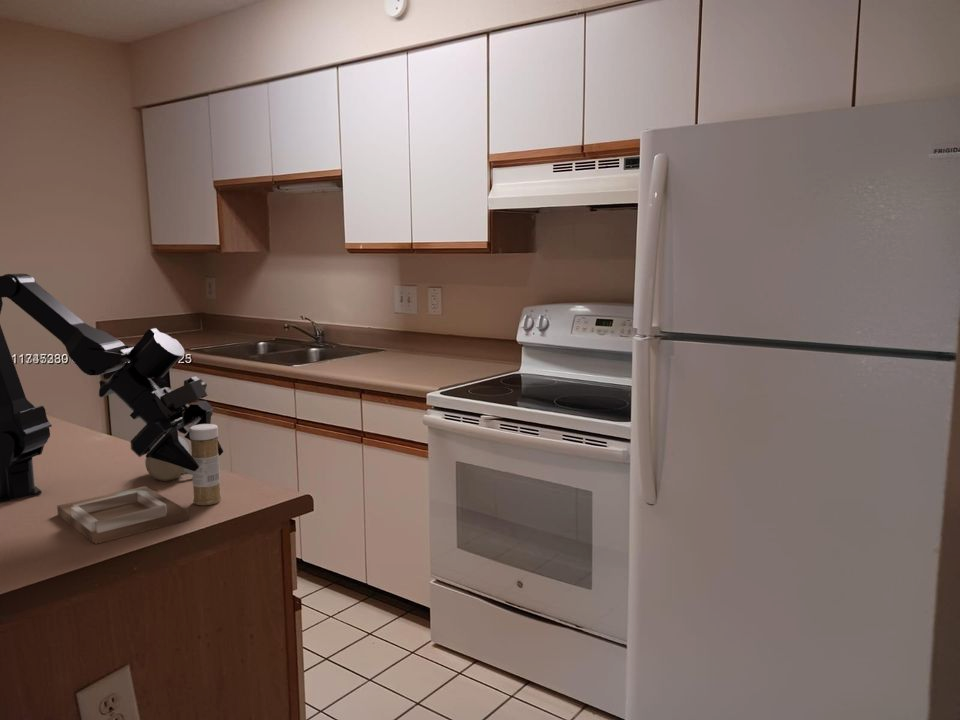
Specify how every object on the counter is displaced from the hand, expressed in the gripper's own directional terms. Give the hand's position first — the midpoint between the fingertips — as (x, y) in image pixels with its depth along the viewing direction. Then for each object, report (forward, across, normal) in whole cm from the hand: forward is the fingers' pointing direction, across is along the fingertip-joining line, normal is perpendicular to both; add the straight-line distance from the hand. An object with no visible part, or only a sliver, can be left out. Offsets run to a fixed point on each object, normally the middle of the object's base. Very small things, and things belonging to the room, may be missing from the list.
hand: (209, 461), depth 122 cm
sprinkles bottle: (+5, 0, +6) cm, 8 cm away
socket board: (-3, -8, +13) cm, 16 cm away
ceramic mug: (-4, +14, +15) cm, 21 cm away
